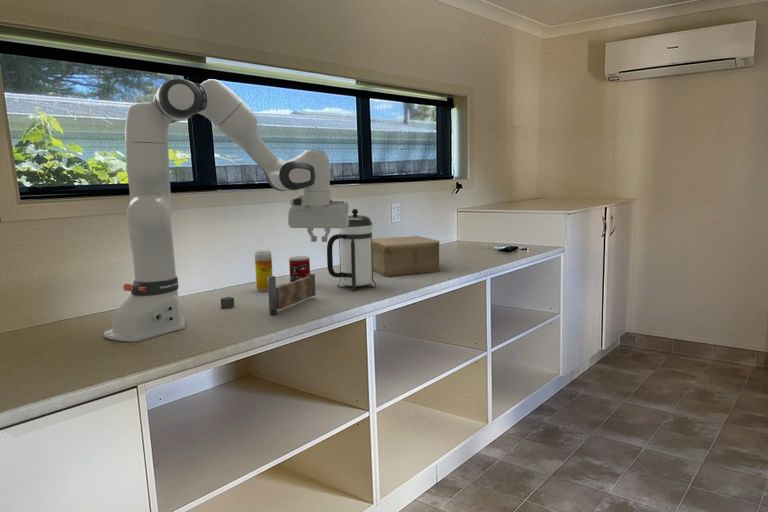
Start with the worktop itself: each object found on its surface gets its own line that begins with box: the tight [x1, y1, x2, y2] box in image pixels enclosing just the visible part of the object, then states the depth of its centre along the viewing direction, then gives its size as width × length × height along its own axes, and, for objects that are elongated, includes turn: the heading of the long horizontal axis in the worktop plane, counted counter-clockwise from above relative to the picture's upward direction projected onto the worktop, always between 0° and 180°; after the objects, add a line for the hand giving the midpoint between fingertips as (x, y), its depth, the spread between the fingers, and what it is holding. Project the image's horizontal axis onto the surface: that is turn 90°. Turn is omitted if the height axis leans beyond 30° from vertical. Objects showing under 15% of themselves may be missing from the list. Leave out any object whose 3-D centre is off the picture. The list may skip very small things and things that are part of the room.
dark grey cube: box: [220, 296, 235, 309], centre depth 180 cm, size 3×3×3 cm
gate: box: [276, 273, 317, 310], centre depth 181 cm, size 21×2×8 cm, turn 155°
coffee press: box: [326, 208, 377, 292], centre depth 203 cm, size 17×16×30 cm
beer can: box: [254, 249, 273, 292], centre depth 203 cm, size 6×6×15 cm
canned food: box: [288, 255, 311, 283], centre depth 211 cm, size 8×8×11 cm
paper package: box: [372, 235, 441, 277], centre depth 240 cm, size 27×26×14 cm
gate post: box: [267, 275, 278, 316], centre depth 169 cm, size 2×2×12 cm
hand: (319, 241), depth 179 cm, fingers open, 2 cm apart
